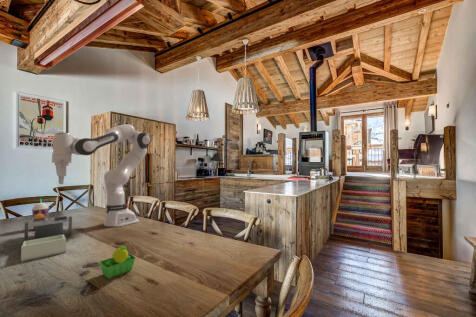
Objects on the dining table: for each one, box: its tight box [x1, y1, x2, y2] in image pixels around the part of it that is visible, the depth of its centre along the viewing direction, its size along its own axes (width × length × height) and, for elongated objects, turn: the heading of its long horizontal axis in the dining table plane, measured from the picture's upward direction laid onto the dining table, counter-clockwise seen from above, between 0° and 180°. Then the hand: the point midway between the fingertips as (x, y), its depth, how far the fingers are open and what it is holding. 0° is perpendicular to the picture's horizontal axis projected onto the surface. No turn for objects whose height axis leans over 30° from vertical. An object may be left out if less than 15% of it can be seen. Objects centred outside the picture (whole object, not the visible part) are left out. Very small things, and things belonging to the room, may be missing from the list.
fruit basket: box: [98, 245, 136, 279], centre depth 87 cm, size 11×9×11 cm
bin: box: [20, 233, 67, 263], centre depth 106 cm, size 16×16×7 cm
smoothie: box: [31, 198, 50, 231], centre depth 142 cm, size 8×8×20 cm
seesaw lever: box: [28, 215, 69, 228], centre depth 124 cm, size 16×28×4 cm, turn 42°
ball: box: [35, 214, 44, 221], centre depth 130 cm, size 4×4×4 cm
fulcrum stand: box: [23, 215, 73, 242], centre depth 124 cm, size 20×4×11 cm, turn 132°
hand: (60, 183), depth 125 cm, fingers open, 8 cm apart
